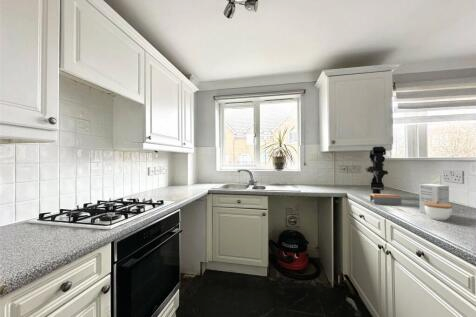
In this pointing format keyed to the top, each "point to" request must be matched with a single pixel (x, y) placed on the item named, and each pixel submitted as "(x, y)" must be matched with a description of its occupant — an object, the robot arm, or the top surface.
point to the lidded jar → (438, 210)
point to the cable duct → (385, 200)
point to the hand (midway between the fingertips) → (378, 183)
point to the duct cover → (386, 195)
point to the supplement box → (433, 194)
